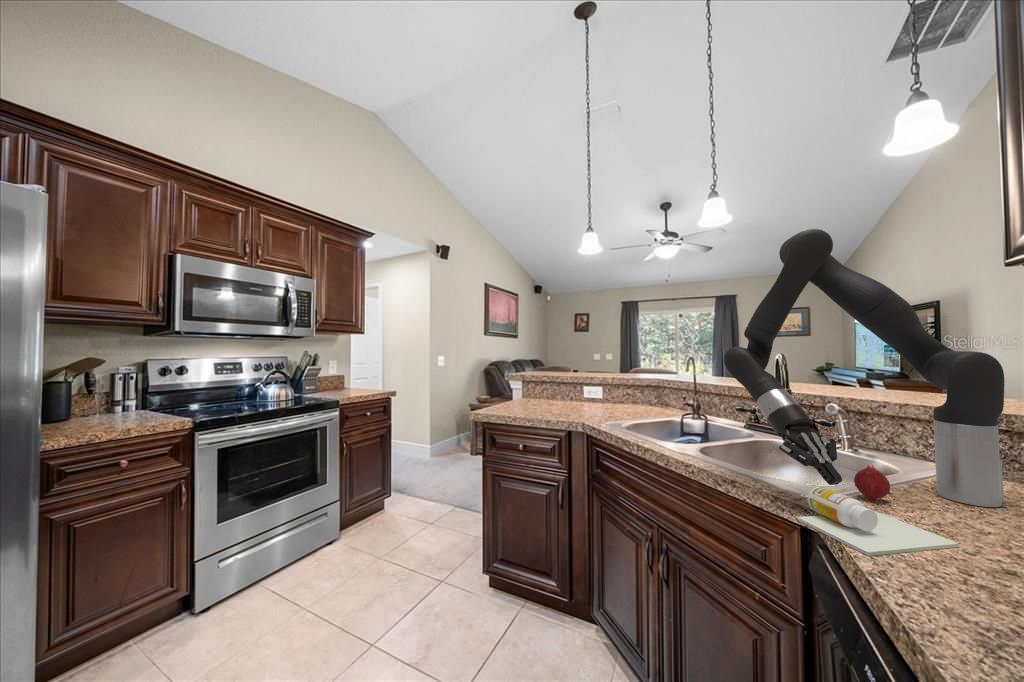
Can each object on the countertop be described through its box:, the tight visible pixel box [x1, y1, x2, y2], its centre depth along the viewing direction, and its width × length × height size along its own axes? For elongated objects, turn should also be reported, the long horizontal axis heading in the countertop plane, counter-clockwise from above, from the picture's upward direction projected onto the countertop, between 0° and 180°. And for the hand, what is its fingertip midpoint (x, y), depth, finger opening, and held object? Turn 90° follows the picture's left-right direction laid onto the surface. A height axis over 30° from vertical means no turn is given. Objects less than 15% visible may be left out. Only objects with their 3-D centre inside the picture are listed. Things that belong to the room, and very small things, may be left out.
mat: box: [797, 510, 960, 557], centre depth 69 cm, size 18×13×1 cm
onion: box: [853, 463, 891, 501], centre depth 83 cm, size 6×6×8 cm
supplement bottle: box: [807, 486, 878, 531], centre depth 71 cm, size 5×5×10 cm
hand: (836, 483), depth 75 cm, fingers closed
